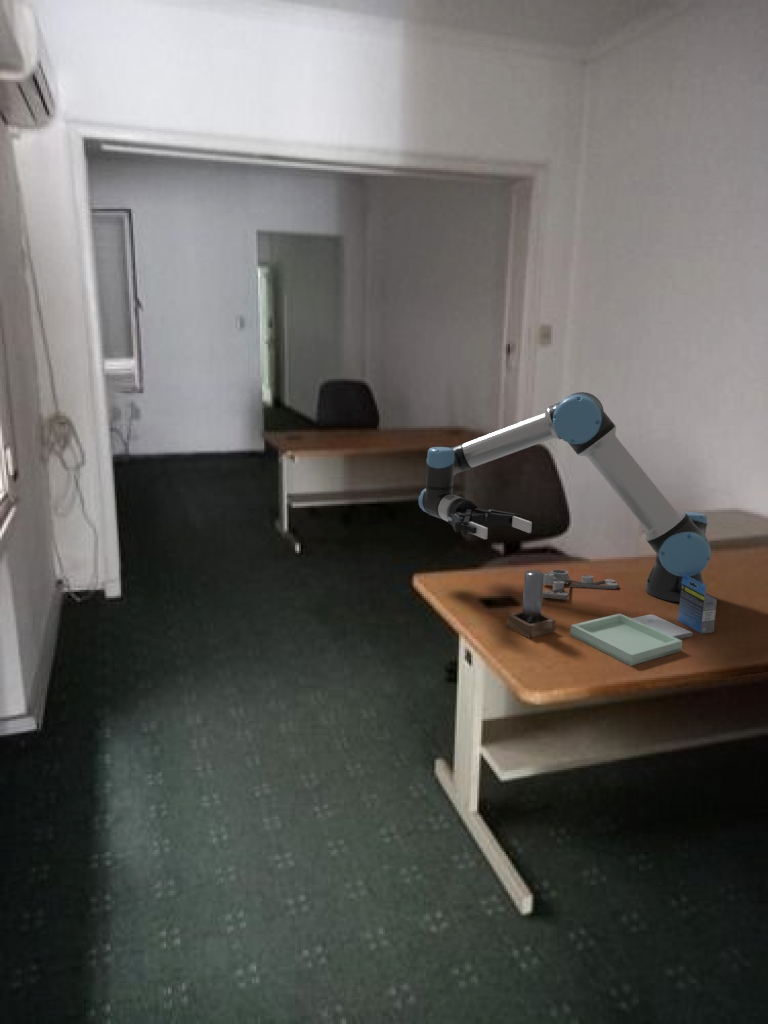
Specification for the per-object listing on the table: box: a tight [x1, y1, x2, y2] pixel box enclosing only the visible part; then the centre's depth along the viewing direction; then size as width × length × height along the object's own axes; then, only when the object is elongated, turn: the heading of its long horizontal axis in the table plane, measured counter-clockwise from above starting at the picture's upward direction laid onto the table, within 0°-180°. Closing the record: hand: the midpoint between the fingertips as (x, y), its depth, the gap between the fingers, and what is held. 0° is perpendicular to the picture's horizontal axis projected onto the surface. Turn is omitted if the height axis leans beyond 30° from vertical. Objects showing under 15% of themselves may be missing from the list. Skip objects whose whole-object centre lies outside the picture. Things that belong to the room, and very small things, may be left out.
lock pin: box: [522, 569, 545, 624], centre depth 165 cm, size 4×4×14 cm
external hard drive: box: [631, 614, 694, 640], centre depth 168 cm, size 2×8×12 cm
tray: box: [569, 612, 683, 667], centre depth 159 cm, size 16×18×2 cm
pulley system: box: [542, 569, 619, 600], centre depth 195 cm, size 27×5×15 cm
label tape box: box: [677, 574, 718, 634], centre depth 168 cm, size 9×4×12 cm, turn 14°
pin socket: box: [506, 611, 556, 639], centre depth 166 cm, size 8×8×3 cm
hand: (508, 530), depth 169 cm, fingers open, 13 cm apart
